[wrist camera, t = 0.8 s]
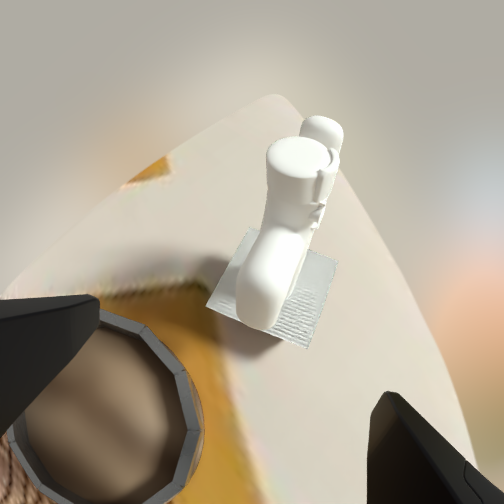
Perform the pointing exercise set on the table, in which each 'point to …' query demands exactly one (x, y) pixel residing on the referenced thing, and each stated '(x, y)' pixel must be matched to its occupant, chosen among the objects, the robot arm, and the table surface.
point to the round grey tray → (69, 500)
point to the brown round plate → (111, 422)
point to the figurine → (286, 240)
